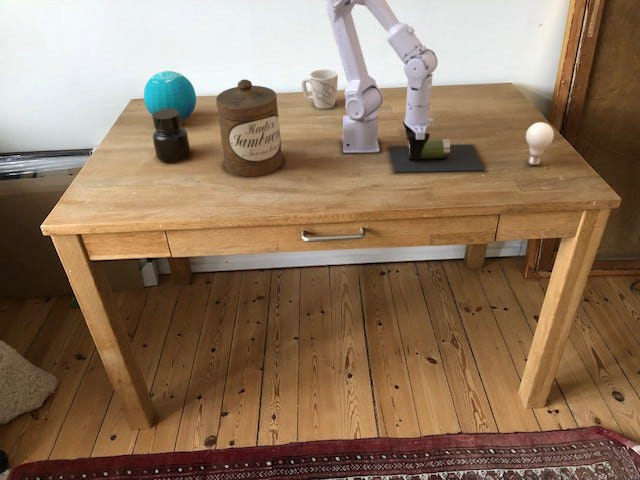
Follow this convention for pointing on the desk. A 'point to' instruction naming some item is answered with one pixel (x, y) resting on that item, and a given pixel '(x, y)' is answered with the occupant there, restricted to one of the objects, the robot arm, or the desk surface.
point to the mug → (322, 88)
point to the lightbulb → (538, 140)
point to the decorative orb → (170, 93)
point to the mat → (437, 161)
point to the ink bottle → (170, 136)
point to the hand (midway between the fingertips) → (414, 153)
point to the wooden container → (249, 129)
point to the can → (433, 149)
